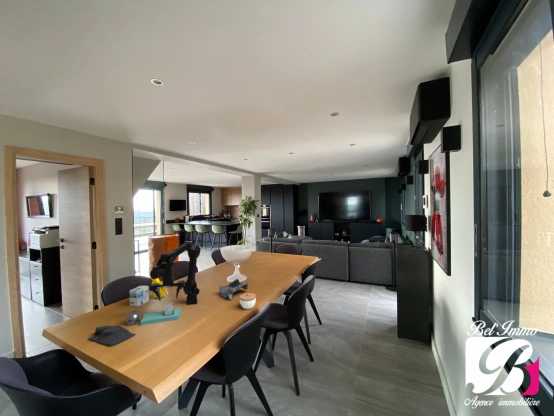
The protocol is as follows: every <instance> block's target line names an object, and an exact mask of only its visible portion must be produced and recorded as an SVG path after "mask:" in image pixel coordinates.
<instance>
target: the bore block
mask: <svg viewBox="0 0 554 416" xmlns="http://www.w3.org/2000/svg"><path fill="white" fill-rule="evenodd" d="M181 313H182V308H181V307H179V308H178V307H177V308H173V315H168V316H165V309H164V310H163V309H162V310H158V311H157V310H156V311H149V312H146V313H145V314H144V315H143V317H142V319H140V322H139V323H140V326H145V325H151V324H152V325H153V324H158V323H164V322H171V321H176V320H177V321H178V320H179V319H180V317H181V316H180V315H181Z"/></svg>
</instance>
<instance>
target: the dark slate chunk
mask: <svg viewBox="0 0 554 416" xmlns="http://www.w3.org/2000/svg"><path fill="white" fill-rule="evenodd" d="M136 335H137V333H133V332H131V331H130V330H128V329H127V328H125V327H123V326H121V325H118V324H117V325H101V326H97V327H95V330H94V333H93V335H92V336H90V337H89V338H87V339H86V340H87V341H89V342H92V343H96V344H100V345H104V346H109V347H114V346H117V345H119V344H120V343H123V342H125V341H128V340H130V339H132V338H133V337H135V336H136Z"/></svg>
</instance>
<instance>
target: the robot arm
mask: <svg viewBox="0 0 554 416" xmlns="http://www.w3.org/2000/svg"><path fill="white" fill-rule="evenodd" d="M185 252H187V256H188V258H189V261H188V270H187V279H186V281H185V280H184V279H183V280H177V282H175V276H174V266H175V265H176V263H174V262H175V260H177V258H178V256H180V255H181V254H183V253H185ZM200 255H201V247H200V246H199V245H196V244H193V243H191V242H183V243H182V244H181V245H179V246H177V247H176V248H174V249H172V250H171V251H166V252H163V253H161V254H160V257H159V259H158V261H157V263H156V266H153V267H152V269H151V270H150V272H149V276H150V278H151V279H152V280H153V279H157V278H158V279H159V278H161V282H162V283H163V284H162V285H159V283H155V284H152V283H151V285H150V287H149V292H152V291H153V292H154V293H155V294H156V295H157V297H158V301H159V302H161V300H162V297H161V296H160V288H164V287H165V288H170V287H173V288H174V287H176V293H175V294H176V295H175V298H176V299H178V297H179V293H180V291H181V290H183V293H184V294H185V295H186V297H185V298H186V299H185V300H186V305H187V306H189V305H197V304H198V301H199V300H198V295H199V294H200V293H201V292H200V289H199V288H198V286H197V284H198V283H197V282H196V269H197V261H198V257H200Z"/></svg>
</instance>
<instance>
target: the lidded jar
mask: <svg viewBox="0 0 554 416" xmlns="http://www.w3.org/2000/svg"><path fill="white" fill-rule="evenodd" d="M256 302H257V294H255V293H253V292H246V293H244V292H243V293H242V294H240V295H239V303H240V306H241V307H242V309H244V310H250V309H253V308H254V307H255V305H256Z"/></svg>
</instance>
